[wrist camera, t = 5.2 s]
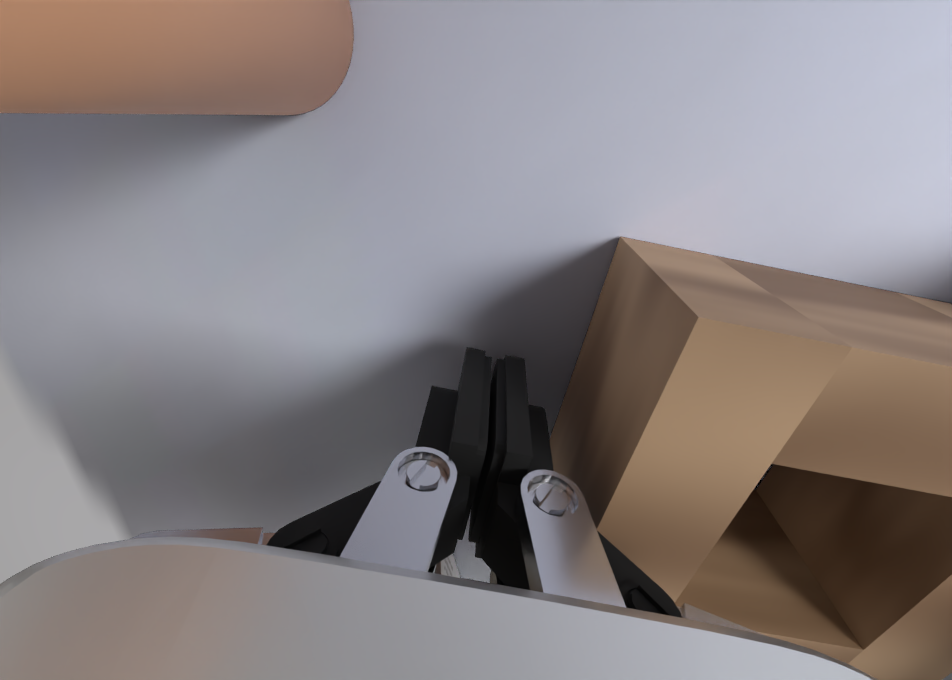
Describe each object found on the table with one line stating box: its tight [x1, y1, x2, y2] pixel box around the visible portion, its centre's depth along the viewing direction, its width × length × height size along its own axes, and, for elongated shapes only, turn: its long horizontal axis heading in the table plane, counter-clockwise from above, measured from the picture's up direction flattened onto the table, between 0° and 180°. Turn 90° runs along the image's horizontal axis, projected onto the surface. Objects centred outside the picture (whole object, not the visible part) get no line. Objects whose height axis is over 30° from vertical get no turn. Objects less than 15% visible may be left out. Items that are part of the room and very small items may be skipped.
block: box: [549, 237, 952, 680], centre depth 11 cm, size 10×10×5 cm
